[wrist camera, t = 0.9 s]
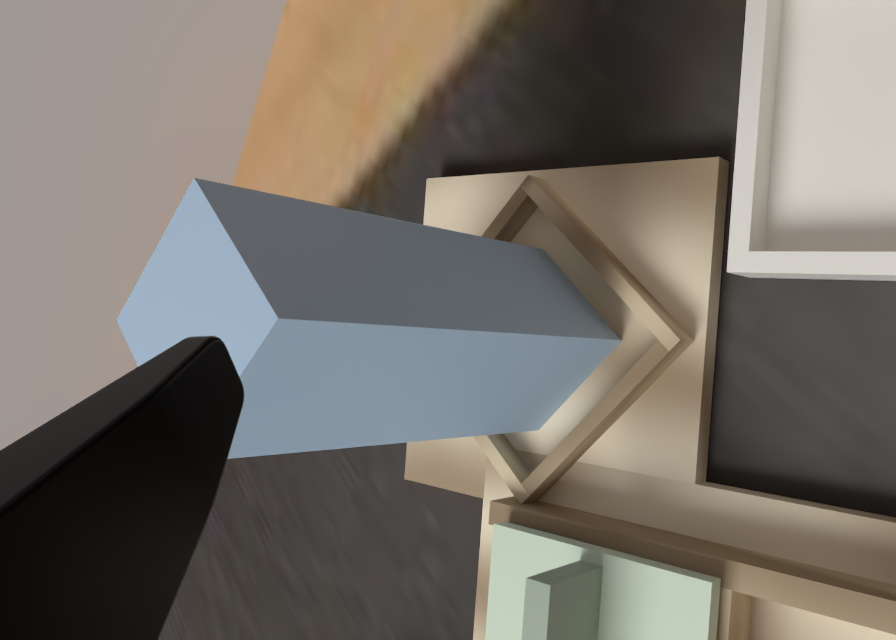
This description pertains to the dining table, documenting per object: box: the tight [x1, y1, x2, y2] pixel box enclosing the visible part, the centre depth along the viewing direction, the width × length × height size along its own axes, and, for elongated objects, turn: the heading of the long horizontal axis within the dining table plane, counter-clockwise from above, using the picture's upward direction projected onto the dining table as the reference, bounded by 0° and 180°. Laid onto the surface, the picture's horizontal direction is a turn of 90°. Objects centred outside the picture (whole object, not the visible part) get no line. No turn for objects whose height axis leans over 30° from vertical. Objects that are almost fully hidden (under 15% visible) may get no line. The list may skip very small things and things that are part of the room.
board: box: [405, 157, 896, 640], centre depth 24 cm, size 22×27×2 cm
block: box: [117, 178, 622, 459], centre depth 24 cm, size 4×4×14 cm
